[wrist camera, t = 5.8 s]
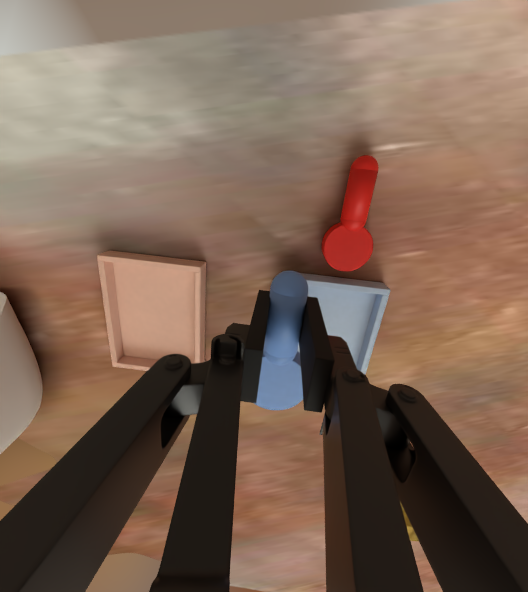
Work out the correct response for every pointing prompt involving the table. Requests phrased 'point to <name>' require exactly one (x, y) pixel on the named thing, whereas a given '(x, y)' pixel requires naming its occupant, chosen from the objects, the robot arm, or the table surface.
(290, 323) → the blue spoon
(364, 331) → the blue tray
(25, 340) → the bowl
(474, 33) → the table surface
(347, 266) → the red spoon
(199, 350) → the rose tray
